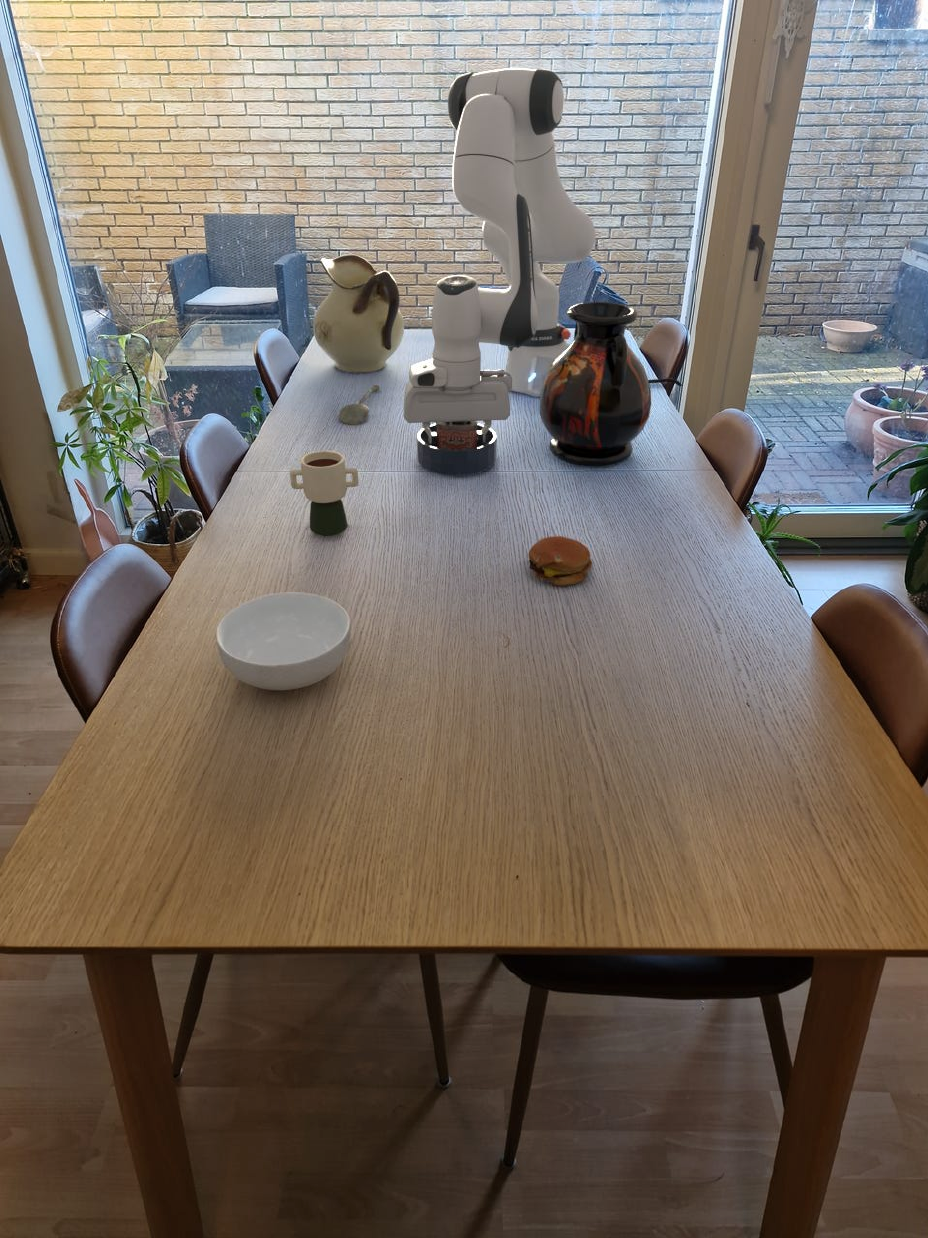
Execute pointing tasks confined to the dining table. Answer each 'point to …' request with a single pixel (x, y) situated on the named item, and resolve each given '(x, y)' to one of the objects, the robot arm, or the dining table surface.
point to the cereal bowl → (284, 640)
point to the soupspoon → (356, 410)
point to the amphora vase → (596, 389)
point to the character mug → (325, 490)
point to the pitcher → (358, 315)
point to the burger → (560, 560)
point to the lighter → (457, 435)
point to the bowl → (456, 455)
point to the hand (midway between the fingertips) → (456, 441)
